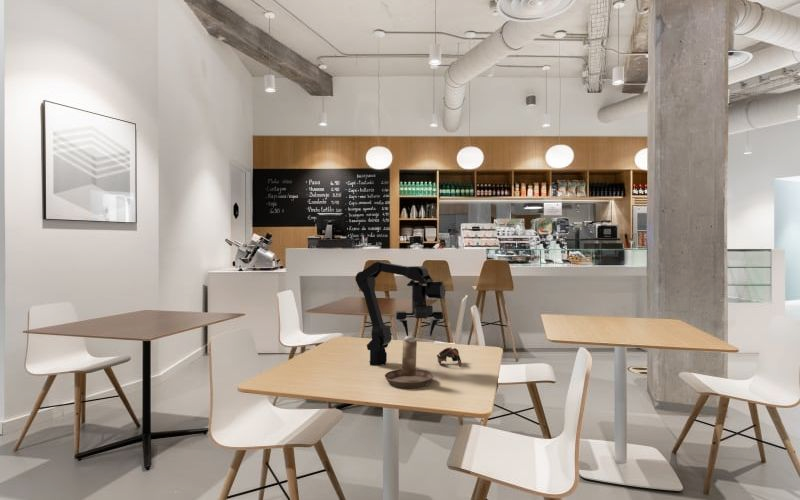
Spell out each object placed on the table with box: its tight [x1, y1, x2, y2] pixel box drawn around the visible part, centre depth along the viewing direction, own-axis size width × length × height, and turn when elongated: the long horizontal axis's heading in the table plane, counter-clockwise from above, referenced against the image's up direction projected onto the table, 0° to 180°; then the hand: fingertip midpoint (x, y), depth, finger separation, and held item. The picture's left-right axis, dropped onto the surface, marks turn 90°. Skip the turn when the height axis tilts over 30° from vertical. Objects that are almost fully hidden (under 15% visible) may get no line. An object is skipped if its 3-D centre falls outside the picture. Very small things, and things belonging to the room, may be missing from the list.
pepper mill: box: [401, 335, 418, 376], centre depth 173 cm, size 5×5×14 cm
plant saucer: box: [384, 368, 434, 389], centre depth 173 cm, size 18×18×3 cm
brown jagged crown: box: [436, 346, 463, 368], centre depth 199 cm, size 12×10×8 cm
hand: (418, 336), depth 191 cm, fingers open, 9 cm apart
